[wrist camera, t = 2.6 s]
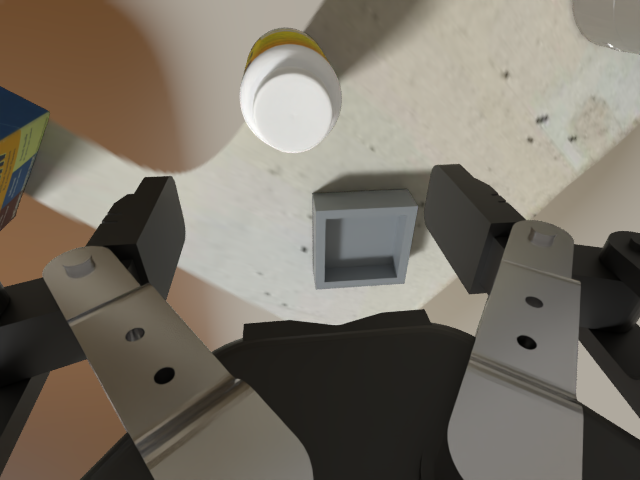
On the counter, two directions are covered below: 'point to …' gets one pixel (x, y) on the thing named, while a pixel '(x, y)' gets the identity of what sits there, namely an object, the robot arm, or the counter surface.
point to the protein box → (17, 148)
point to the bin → (362, 237)
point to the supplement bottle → (289, 91)
